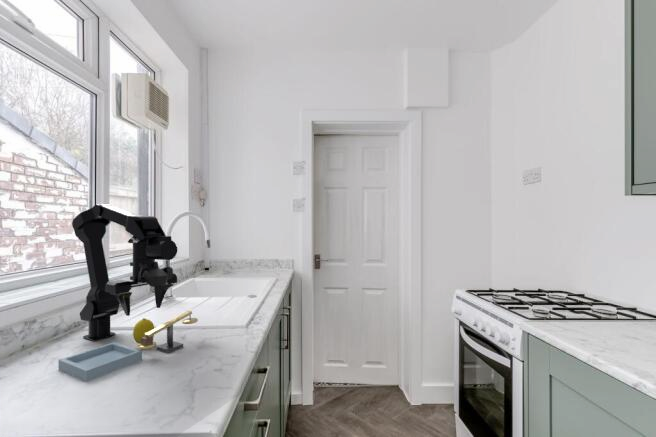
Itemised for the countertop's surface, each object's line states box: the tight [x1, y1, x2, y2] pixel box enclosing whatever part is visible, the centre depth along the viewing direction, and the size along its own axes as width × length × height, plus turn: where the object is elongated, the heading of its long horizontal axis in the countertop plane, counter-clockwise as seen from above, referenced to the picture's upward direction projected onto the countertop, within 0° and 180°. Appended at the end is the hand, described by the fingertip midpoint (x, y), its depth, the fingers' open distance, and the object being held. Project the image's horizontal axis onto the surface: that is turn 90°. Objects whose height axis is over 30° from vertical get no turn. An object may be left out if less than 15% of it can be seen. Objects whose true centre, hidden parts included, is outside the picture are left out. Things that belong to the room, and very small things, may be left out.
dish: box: [57, 341, 143, 383], centre depth 83 cm, size 13×13×2 cm
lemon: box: [132, 318, 155, 345], centre depth 95 cm, size 6×6×8 cm
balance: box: [137, 310, 199, 354], centre depth 93 cm, size 5×18×9 cm, turn 152°
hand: (143, 311), depth 96 cm, fingers open, 9 cm apart
